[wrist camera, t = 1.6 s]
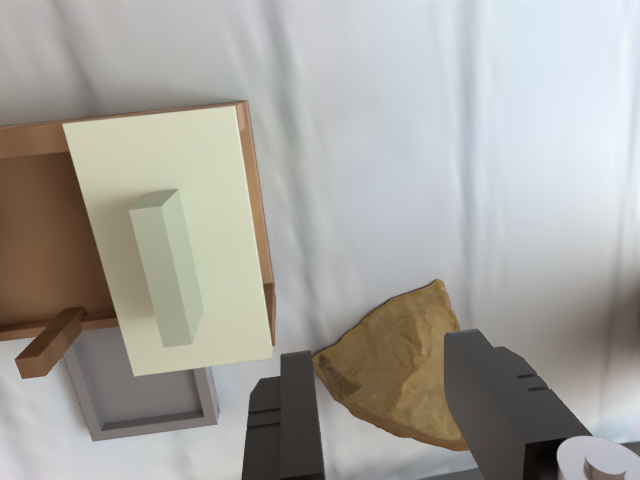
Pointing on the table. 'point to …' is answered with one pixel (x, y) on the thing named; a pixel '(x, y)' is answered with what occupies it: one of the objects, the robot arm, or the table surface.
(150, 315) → the lid
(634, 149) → the table surface
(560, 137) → the table surface
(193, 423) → the dish
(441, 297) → the rock
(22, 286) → the wooden drawer box
